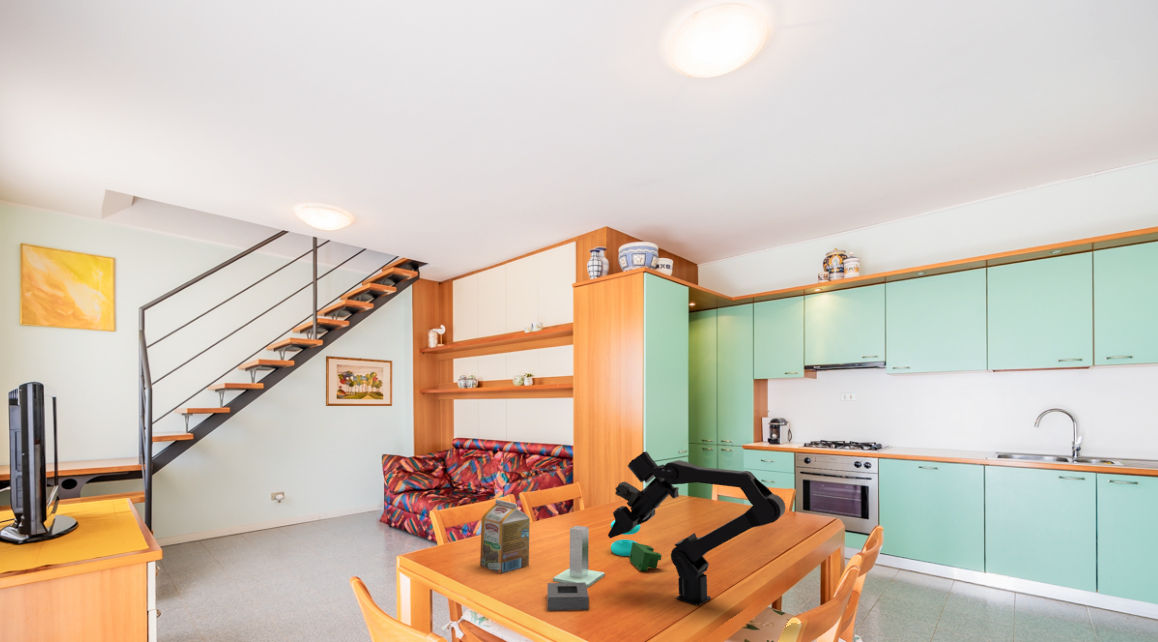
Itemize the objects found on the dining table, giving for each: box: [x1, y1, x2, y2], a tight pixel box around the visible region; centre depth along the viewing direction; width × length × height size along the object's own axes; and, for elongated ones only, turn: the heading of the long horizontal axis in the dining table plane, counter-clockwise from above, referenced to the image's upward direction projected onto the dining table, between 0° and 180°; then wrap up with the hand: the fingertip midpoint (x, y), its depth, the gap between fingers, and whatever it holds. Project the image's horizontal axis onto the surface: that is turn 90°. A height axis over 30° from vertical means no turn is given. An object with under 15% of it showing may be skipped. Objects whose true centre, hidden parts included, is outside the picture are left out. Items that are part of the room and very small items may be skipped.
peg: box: [569, 525, 590, 578], centre depth 151 cm, size 4×4×13 cm
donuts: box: [610, 519, 641, 557], centre depth 176 cm, size 10×10×10 cm
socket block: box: [546, 582, 590, 612], centre depth 133 cm, size 10×10×3 cm
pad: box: [552, 567, 606, 589], centre depth 150 cm, size 11×11×1 cm
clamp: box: [628, 542, 663, 572], centre depth 162 cm, size 12×6×9 cm, turn 7°
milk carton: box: [479, 499, 531, 575], centre depth 162 cm, size 11×11×19 cm
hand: (615, 532), depth 147 cm, fingers open, 9 cm apart
